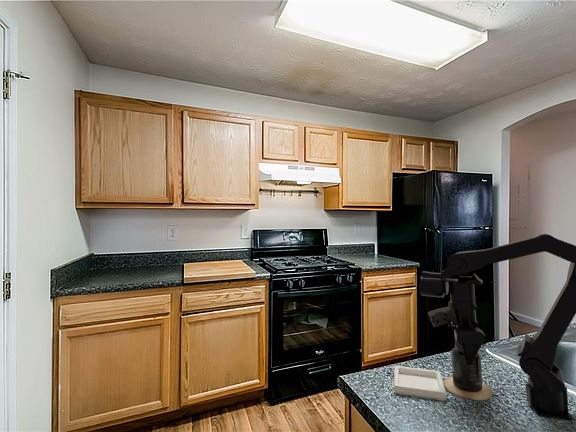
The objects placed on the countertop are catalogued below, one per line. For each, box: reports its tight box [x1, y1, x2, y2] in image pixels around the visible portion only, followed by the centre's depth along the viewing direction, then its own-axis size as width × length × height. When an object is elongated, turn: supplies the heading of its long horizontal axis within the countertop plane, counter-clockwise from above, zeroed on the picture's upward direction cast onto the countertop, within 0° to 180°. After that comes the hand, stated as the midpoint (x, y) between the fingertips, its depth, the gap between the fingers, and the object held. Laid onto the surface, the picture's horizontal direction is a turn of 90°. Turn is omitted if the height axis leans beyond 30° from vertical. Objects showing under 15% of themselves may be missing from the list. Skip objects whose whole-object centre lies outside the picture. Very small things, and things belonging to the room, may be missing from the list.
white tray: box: [393, 365, 447, 402], centre depth 82 cm, size 12×12×2 cm
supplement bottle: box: [451, 339, 483, 392], centre depth 80 cm, size 7×7×12 cm
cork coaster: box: [443, 376, 493, 401], centre depth 80 cm, size 11×11×1 cm
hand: (465, 359), depth 80 cm, fingers closed on supplement bottle, 7 cm apart
